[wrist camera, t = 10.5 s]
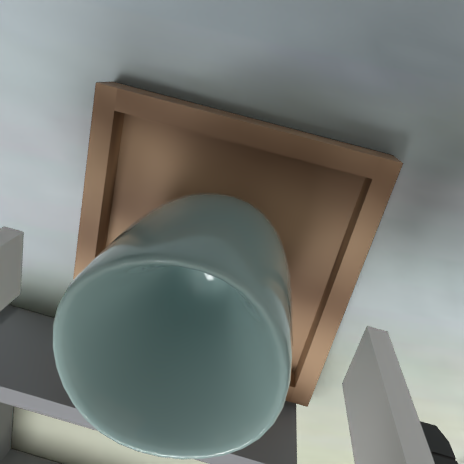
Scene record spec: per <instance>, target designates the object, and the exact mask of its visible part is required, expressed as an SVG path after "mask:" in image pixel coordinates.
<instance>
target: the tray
mask: <svg viewBox="0 0 464 464" xmlns="http://www.w3.org/2000/svg"><path fill="white" fill-rule="evenodd" d="M402 165H403V163H402V162H401V161H400V160H398V159H397V158H396V157H395V156H393V155H390V154H386V153H383V152H379V151H375V150H371V149H367V148H364V147H360V146H356V145H352V144H348V143H345V142H341V141H337V140H333V139H329V138H325V137H322V136H318V135H314V134H310V133H306V132H303V131H299V130H295V129H291V128H287V127H284V126H280V125H276V124H272V123H268V122H265V121H261V120H257V119H253V118H249V117H246V116H242V115H238V114H234V113H230V112H227V111H223V110H219V109H215V108H211V107H207V106H204V105H200V104H196V103H192V102H188V101H185V100H181V99H177V98H173V97H169V96H166V95H162V94H158V93H154V92H150V91H147V90H143V89H139V88H135V87H131V86H128V85H124V84H120V83H116V82H96V86H95V95H94V104H93V112H92V121H91V130H90V138H89V147H88V156H87V164H86V173H85V182H84V191H83V199H82V208H81V217H80V225H79V234H78V243H77V252H76V260H75V269H74V278H75V277H76V276H77V275H78V274H79V273H80V272H81V271H82V270H83V269H84V268H85V267H86V266H87V265H88V264H89V263H90V262H91V261H92V260H93V259H95V258H96V257H97V256H98V255H99V254H100V253H101V252H102V251H103V250H104V249H105V248H106V247H107V246H108V245H109V244H110V243H111V242H113V241H114V240H115V239H116V238H117V237H118V236H119V235H120V234H121V233H122V232H123V231H124V230H126V229H127V228H128V227H129V226H130V225H131V224H133V223H134V222H135V221H136V220H138V219H139V218H140V217H142V216H143V215H144V214H146V213H148V212H149V211H151V210H153V209H154V208H156V207H158V206H160V205H161V204H163V203H165V202H167V201H169V200H173V199H176V198H179V197H182V196H185V195H190V194H198V193H221V194H226V195H231V196H235V197H237V198H240V199H242V200H245V201H247V202H249V203H251V204H252V205H254V206H255V207H257V208H258V209H260V210H261V211H262V212H263V213H264V214H265V216H266V217H267V218H268V219H269V220H270V221H271V223H272V224H273V226H274V228H275V229H276V231H277V233H278V235H279V236H280V239H281V242H282V245H283V248H284V250H285V253H286V257H287V260H288V266H289V273H290V280H291V289H292V304H293V351H292V369H291V380H290V385H289V389H288V392H287V396H286V401H289V402H293V403H296V404H300V405H303V406H307V407H308V404H309V402H310V399H311V396H312V394H313V391H314V389H315V386H316V384H317V381H318V379H319V376H320V374H321V371H322V368H323V366H324V363H325V361H326V358H327V356H328V353H329V351H330V348H331V346H332V343H333V340H334V338H335V335H336V333H337V330H338V328H339V325H340V323H341V320H342V317H343V315H344V312H345V310H346V307H347V305H348V302H349V300H350V297H351V295H352V292H353V289H354V287H355V284H356V282H357V279H358V277H359V274H360V272H361V269H362V266H363V264H364V261H365V259H366V256H367V254H368V251H369V249H370V246H371V244H372V241H373V238H374V236H375V233H376V231H377V228H378V226H379V223H380V221H381V218H382V216H383V213H384V210H385V208H386V205H387V203H388V200H389V198H390V195H391V193H392V190H393V187H394V185H395V182H396V180H397V177H398V175H399V172H400V170H401V167H402ZM74 278H73V280H74Z"/></svg>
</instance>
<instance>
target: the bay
mask: <svg viewBox="0 0 464 464" xmlns="http://www.w3.org/2000/svg"><path fill="white" fill-rule="evenodd" d="M54 319H55V318H53V317H49V316H46V315H42V314H39V313H35V312H32V311H28V310H25V309H21V308H18V307H14V306H11V305H7V306H6V307H5V308H4V309H2V310H1V311H0V464H61V463H57V462H54V461H51V460H47V459H44V458H41V457H37V456H34V455H30V454H27V453H24V452H20V451H17V450H14V449H11V437H12V422H13V407H14V406H15V407H18V408H22V409H25V410H29V411H32V412H35V413H39V414H42V415H46V416H49V417H52V418H56V419H59V420H63V421H66V422H70V423H73V424H76V425H80V426H83V427H87V428H90V429H93V430H97V429H96V428H95V427H93V426H92V425H91V424H90V423H89V422H88V421H87V420H86V419H85V418H84V417H83V416H82V414H81V413H80V412H79V411H78V409H77V408H76V407H75V406H74V404H73V403H72V401H71V399H70V398H69V396H68V394H67V392H66V390H65V389H64V387H63V384H62V382H61V379H60V376H59V373H58V370H57V368H56V362H55V357H54V351H53V323H54ZM97 431H98V430H97ZM195 460H199V461H202V462H206V463H209V464H297V439H296V403H293V402H289V401H286V400H285V403H284V406H283V408H282V410H281V412H280V414H279V416H278V417H277V419H276V421H275V423H274V424H273V425H272V426H271V427H270V429H269V430H268V431H267V432H266V433H265V434H264V435H263V436H262V437H261V438H260V439H258V440H256V441H255V442H253V443H251V444H250V445H248V446H246V447H245V448H243V449H241V450H238V451H235V452H232V453H229V454H226V455H223V456H217V457H211V458H205V459H195Z"/></svg>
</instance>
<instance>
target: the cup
mask: <svg viewBox="0 0 464 464" xmlns="http://www.w3.org/2000/svg"><path fill="white" fill-rule="evenodd" d="M53 351H54V357H55V362H56V368H57V370H58V373H59V376H60V379H61V382H62V384H63V387H64V389H65V390H66V392H67V394H68V396H69V398H70V399H71V401H72V403H73V404H74V406H75V407H76V408H77V409H78V411H79V412H80V413H81V414H82V416H83V417H84V418H85V419H86V420H87V421H88V422H89V423H90V424H91V425H92V426H93V427H95V428H96V429H97V430H98V431H99V432H100V433H102V434H103V435H105V436H107V437H108V438H110V439H112V440H113V441H115V442H117V443H118V444H121V445H123V446H126V447H128V448H131V449H133V450H136V451H138V452H142V453H146V454H150V455H154V456H158V457H165V458H174V459H205V458H211V457H217V456H223V455H226V454H229V453H232V452H235V451H238V450H241V449H243V448H245V447H246V446H248V445H250V444H251V443H253V442H255V441H256V440H258V439H260V438H261V437H262V436H263V435H264V434H265V433H266V432H267V431H268V430H269V429H270V427H271V426H272V425H273V424H274V423H275V421H276V419H277V417H278V416H279V414H280V412H281V410H282V408H283V406H284V403H285V400H286V396H287V392H288V389H289V385H290V380H291V369H292V351H293V304H292V289H291V280H290V273H289V266H288V260H287V257H286V253H285V250H284V248H283V245H282V242H281V239H280V236H279V235H278V233H277V231H276V229H275V228H274V226H273V224H272V223H271V221H270V220H269V219H268V218H267V217H266V216H265V214H264V213H263V212H262V211H261V210H260V209H258V208H257V207H255V206H254V205H252V204H251V203H249V202H247V201H245V200H242V199H240V198H237V197H235V196H231V195H226V194H221V193H198V194H190V195H185V196H182V197H179V198H176V199H173V200H169V201H167V202H165V203H163V204H161V205H160V206H158V207H156V208H154V209H153V210H151V211H149V212H148V213H146V214H144V215H143V216H142V217H140V218H139V219H138V220H136V221H135V222H134V223H133V224H131V225H130V226H129V227H128V228H127V229H126V230H124V231H123V232H122V233H121V234H120V235H119V236H118V237H117V238H116V239H115V240H114V241H113V242H111V243H110V244H109V245H108V246H107V247H106V248H105V249H104V250H103V251H102V252H101V253H100V254H99V255H98V256H97V257H96V258H95V259H93V260H92V261H91V262H90V263H89V264H88V265H87V266H86V267H85V268H84V269H83V270H82V271H81V272H80V273H79V274H78V275H77V276H76V277H75V278H74V280H73V281H72V282H71V283H70V285H69V287H68V289H67V290H66V292H65V294H64V296H63V297H62V299H61V301H60V303H59V305H58V307H57V311H56V315H55V319H54V323H53Z"/></svg>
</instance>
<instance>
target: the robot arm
mask: <svg viewBox="0 0 464 464" xmlns="http://www.w3.org/2000/svg"><path fill="white" fill-rule="evenodd" d="M23 235H24V232H23V231H19V230H15V229H12V228H8V227H2V228H1V229H0V311H1V310H2V309H4V308H5V307H6V306H7V305H8V304H9V303H11V302H12V301H13V300H14V299H15V298H16V297H18V296H19V295H20V294H21V277H22V256H23ZM342 386H343V392H344V398H345V405H346V411H347V417H348V424H349V430H350V436H351V443H352V449H353V455H354V461H355V464H458V463H457V461H455V459H456V458H455V455H454V453H453V451H452V448H451V446H450V443H449V441H448V440H447V439H446V438H445V436H444V435H443V434H442V433H441V431H440V430H439V429H438V427H437V426H435V425H431V424H428V423H424V422H421V421H419V418H418V415H417V412H416V410H415V407H414V404H413V401H412V398H411V396H410V393H409V390H408V387H407V384H406V382H405V379H404V376H403V373H402V370H401V368H400V365H399V362H398V359H397V356H396V354H395V351H394V348H393V345H392V342H391V340H390V337H389V334H388V332H387V331H384V330H380V329H376V328H373V327H369V326H367V327H366V330H365V332H364V334H363V336H362V339H361V341H360V343H359V346H358V348H357V350H356V353H355V355H354V357H353V360H352V362H351V364H350V366H349V369H348V371H347V373H346V376H345V378H344V380H343V383H342Z"/></svg>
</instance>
